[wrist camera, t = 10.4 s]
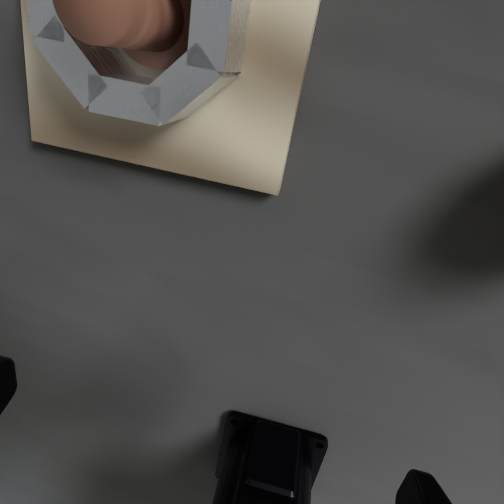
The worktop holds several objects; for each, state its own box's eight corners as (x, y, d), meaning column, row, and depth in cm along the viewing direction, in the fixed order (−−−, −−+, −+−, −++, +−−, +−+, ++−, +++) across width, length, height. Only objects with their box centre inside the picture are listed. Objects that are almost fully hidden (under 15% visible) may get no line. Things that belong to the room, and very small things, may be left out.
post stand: (280, 189, 18) (260, 238, 13) (45, 137, 19) (-63, 162, 14) (352, -151, 13) (370, -305, 8) (23, -198, 14) (-165, -365, 9)
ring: (233, 127, 17) (215, 137, 14) (80, 96, 17) (34, 100, 14) (262, -80, 13) (246, -118, 11) (74, -109, 14) (14, -152, 11)
